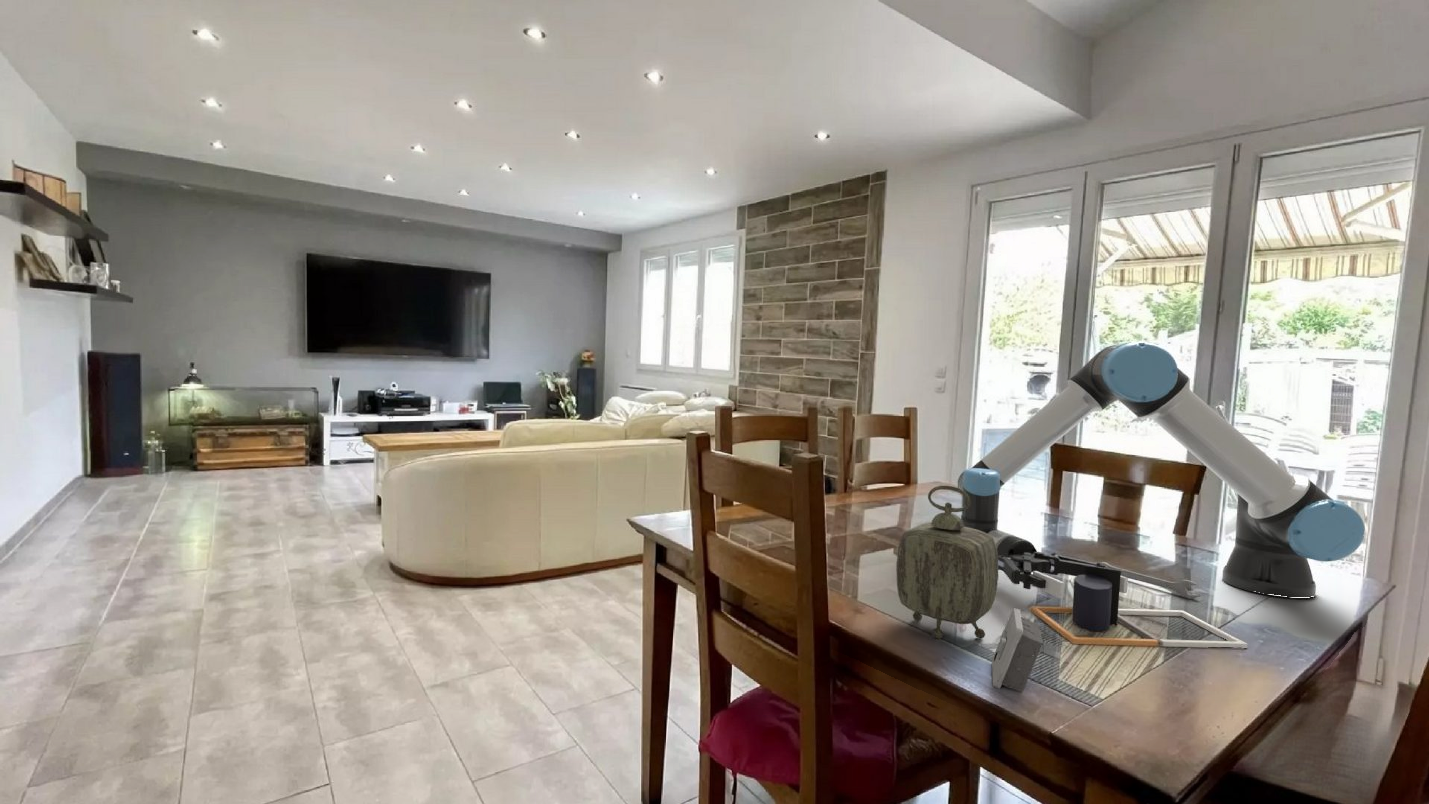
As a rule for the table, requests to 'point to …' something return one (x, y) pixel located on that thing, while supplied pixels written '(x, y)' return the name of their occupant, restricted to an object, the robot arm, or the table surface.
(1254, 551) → the robot arm
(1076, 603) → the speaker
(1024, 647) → the electrical switch
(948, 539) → the tabletop clock
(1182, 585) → the combination wrench
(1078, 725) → the table surface
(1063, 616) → the table surface
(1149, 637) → the rectangular frame
